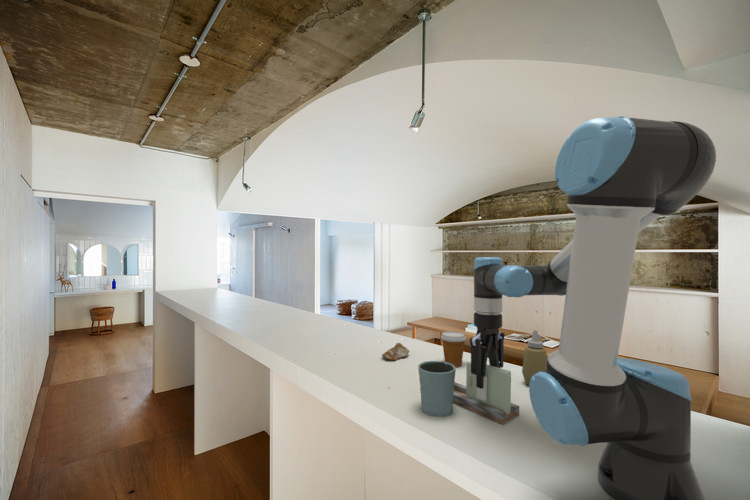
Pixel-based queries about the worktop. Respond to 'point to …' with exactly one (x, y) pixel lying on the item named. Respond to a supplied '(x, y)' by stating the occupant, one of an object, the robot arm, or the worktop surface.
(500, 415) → the track base
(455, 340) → the disposable coffee cup
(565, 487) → the worktop surface
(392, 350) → the decorative stone
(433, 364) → the teal cup
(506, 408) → the door panel
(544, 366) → the squeeze bottle
